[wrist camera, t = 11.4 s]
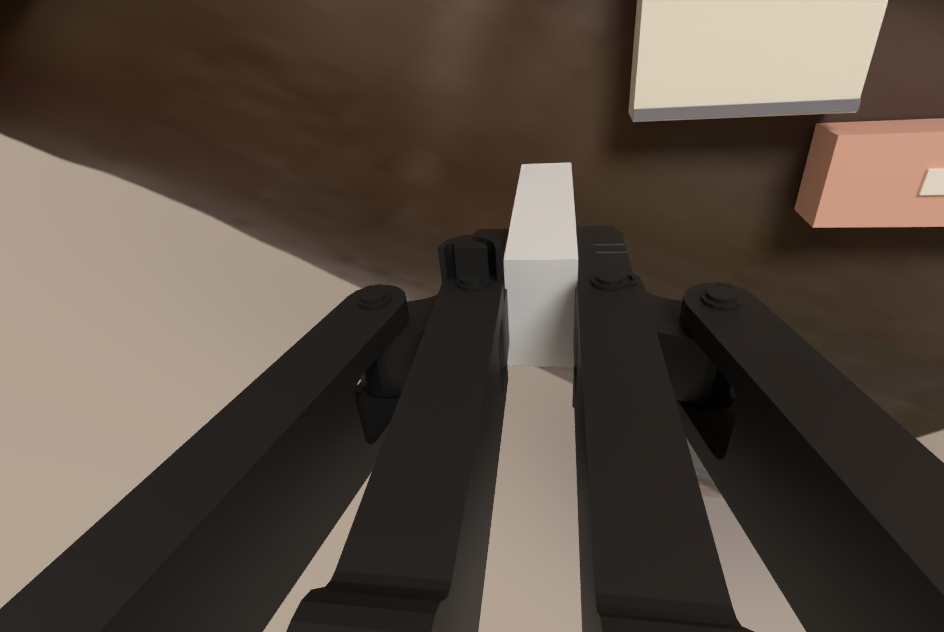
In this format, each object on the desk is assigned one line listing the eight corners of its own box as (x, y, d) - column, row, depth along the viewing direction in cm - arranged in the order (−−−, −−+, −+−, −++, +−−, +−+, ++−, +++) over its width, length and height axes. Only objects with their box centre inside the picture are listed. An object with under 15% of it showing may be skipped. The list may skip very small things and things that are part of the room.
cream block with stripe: (628, 112, 37) (633, 122, 34) (645, -105, 30) (652, -115, 28) (833, 103, 34) (857, 113, 31) (897, -135, 28) (933, -149, 25)
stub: (794, 209, 38) (814, 228, 35) (816, 123, 35) (839, 136, 32) (1002, 206, 36) (1043, 227, 33) (1045, 114, 33) (1095, 127, 29)
